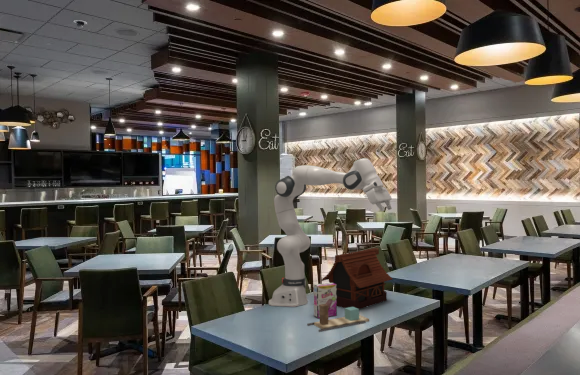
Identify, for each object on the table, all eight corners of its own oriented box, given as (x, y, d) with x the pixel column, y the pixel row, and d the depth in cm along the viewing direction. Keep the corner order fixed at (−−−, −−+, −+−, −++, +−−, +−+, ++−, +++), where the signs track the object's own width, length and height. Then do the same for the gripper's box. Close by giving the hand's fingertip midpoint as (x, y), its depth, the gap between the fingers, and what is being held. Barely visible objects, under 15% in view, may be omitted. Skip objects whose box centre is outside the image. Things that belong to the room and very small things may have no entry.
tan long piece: (323, 330, 209) (323, 308, 209) (313, 324, 217) (313, 303, 217) (369, 321, 221) (368, 300, 221) (358, 316, 229) (357, 296, 229)
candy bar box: (317, 318, 227) (317, 286, 227) (313, 316, 232) (312, 284, 232) (337, 316, 231) (336, 284, 231) (333, 313, 236) (332, 282, 236)
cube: (350, 320, 219) (350, 310, 219) (344, 318, 223) (344, 308, 223) (359, 319, 221) (358, 309, 221) (353, 316, 225) (353, 306, 225)
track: (319, 331, 207) (319, 330, 207) (307, 325, 217) (307, 323, 217) (365, 322, 219) (365, 321, 219) (352, 317, 229) (352, 315, 229)
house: (358, 313, 235) (357, 257, 235) (319, 303, 256) (318, 252, 256) (397, 300, 259) (396, 250, 259) (358, 292, 280) (357, 246, 280)
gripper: (377, 188, 243) (389, 211, 239) (361, 189, 226) (373, 214, 222) (386, 182, 239) (399, 205, 236) (371, 183, 222) (384, 208, 219)
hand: (386, 210), depth 229 cm, fingers open, 8 cm apart
